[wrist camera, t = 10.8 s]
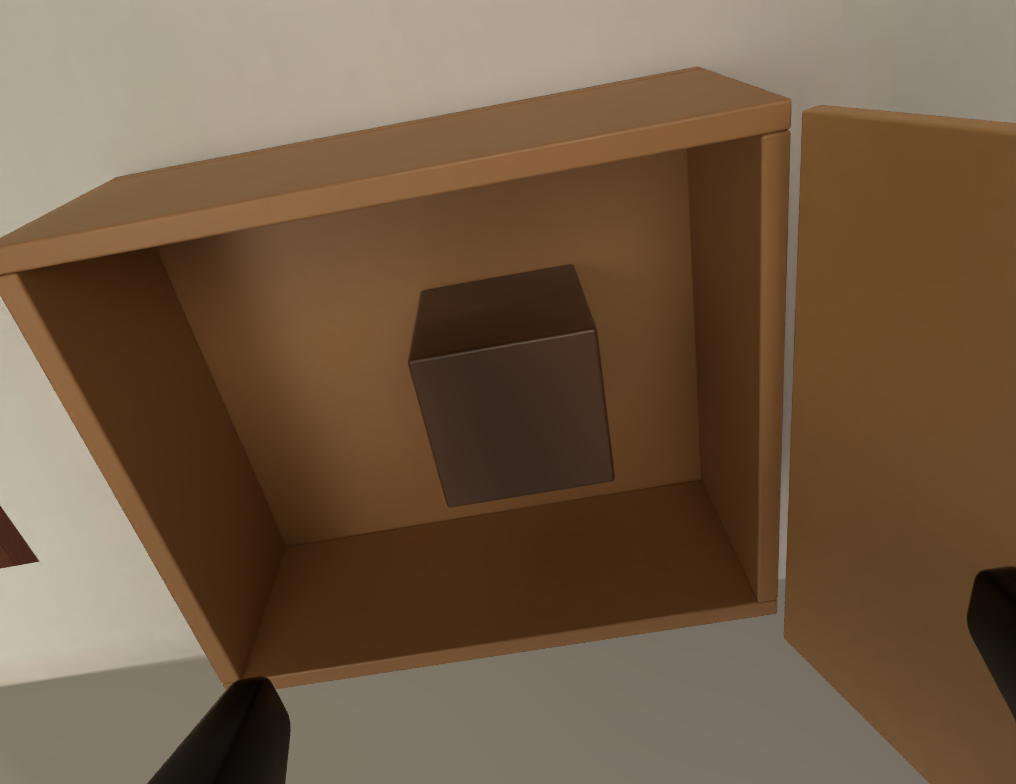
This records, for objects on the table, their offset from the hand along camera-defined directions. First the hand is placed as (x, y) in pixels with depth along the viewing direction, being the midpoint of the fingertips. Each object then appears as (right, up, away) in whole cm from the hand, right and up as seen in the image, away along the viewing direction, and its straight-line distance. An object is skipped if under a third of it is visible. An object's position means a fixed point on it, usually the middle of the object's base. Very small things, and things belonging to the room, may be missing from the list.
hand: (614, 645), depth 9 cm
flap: (+5, +1, +2) cm, 6 cm away
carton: (-3, +4, +10) cm, 12 cm away
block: (-1, +5, +10) cm, 11 cm away
